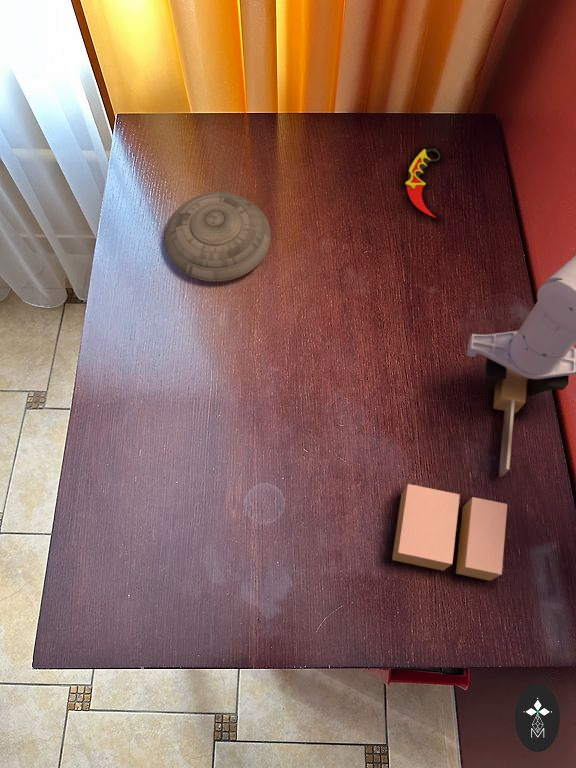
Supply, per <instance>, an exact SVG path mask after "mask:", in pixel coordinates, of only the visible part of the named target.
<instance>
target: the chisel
mask: <svg viewBox="0 0 576 768" xmlns="http://www.w3.org/2000/svg"><path fill="white" fill-rule="evenodd" d="M527 381H528V378H527V377H524V376H522V375H520V374H518V373H516V372H514V371H512V370H510V369H508V368H507V371H506V379H503V380H501V381H500V382H498V384H497V385H496V387H495V388H494V396H493V406H492V408H493V409H494V410H499V411H504V412H503V422H502V433H501V447H500V456H499V457H500V458H499V469H498V477H499V478H502V477H503V476H504V475H506V473H507V472H508V471H510V467H511V456H512V455H511V454H512V443H513V432H514V431H513V429H514V417H515V414H517V413H518V412H519V411H520V410H521V409H522V407H524V404H526V400H527V396H526V391H527Z"/></svg>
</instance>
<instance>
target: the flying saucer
mask: <svg viewBox="0 0 576 768" xmlns="http://www.w3.org/2000/svg"><path fill="white" fill-rule="evenodd" d="M270 225H271V224H270V223H269V220H268V218H267V216H266V215H265V213H264V212H263V211H262V210H261V209H260V207H259V206H257V205H256V204H255V203H254V202H253V201H251V200H249V199H247V198H245V197H243V196H241V195H238V194H234V193H230V192H224V191H223V192H222V191H215V192H208V193H203V194H200V195H196V196H195V197H192V198H190V199H188V200H186V201H185V202H183V203H182V204H181V205H180V206H178V208H177V209H176V210H174V212H173V213H172V214H171V216H170V217H169V219H168V221H167V223H166V226H165V228H164V234H163V243H164V249H165V252H166V255H167V256H168V258H169V260H170V261H171V263H172V264H173V265H174V266H175V267H176V268H177V269H178V270H180V271H181V272H182V273H184V274H186V275H187V276H190V277H192V278H194V279H197V280H201V281H207V282H225V281H230V280H235V279H238V278H240V277H242V276H244V275H246V274H248V273H250V272H251V271H253V270H254V269H255V268H256V267H257V266H258V265H260V264H261V262H262V261H263V260H264V259H265V257H266V255H267V254H268V251H269V249H270V247H271V242H272V231H271V226H270Z"/></svg>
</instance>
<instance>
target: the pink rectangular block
mask: <svg viewBox="0 0 576 768" xmlns="http://www.w3.org/2000/svg"><path fill="white" fill-rule="evenodd" d="M460 497H461V495H460V494H459V493H456V492H449V491H446V490H445V491H444V490H439V489H435V488H431V487H425V486H421V485H416V484H411V483H407V485H406V486H405V488H404V490H402V492H401V496H400V502H399V509H398V516H397V523H396V530H395V537H394V542H393V543H394V544H393V551H392V559H391V560H392V561H396V562H400V563H405V564H410V565H415V566H419V567H424V568H427V569H433V570H438V571H441V572H442V571H445V570H446V569H448V568H449V567H450V566H452V565H453V561H454V555H455V554H454V553H455V543H456V533H457V525H458V517H459V516H458V515H459V508H460V507H459V506H460Z"/></svg>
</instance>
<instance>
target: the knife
mask: <svg viewBox="0 0 576 768" xmlns="http://www.w3.org/2000/svg"><path fill="white" fill-rule="evenodd" d="M429 152H433V153H434V154H436V155H437V158H434V159H433V158H431V157H429V156H428V153H429ZM440 158H441V153H440V151H438V150H437V147H435V148H434V147H433V148H426V149H425V148H424V149H422V150H421V152H419V153H418V155H417V156H415V158H414V160H413V161H412V163H411V165H410V166H409V169H408V171H407V174H408V177H407V180H406V181H405V183H404V187H406V192H407V195H408V197H409V200H410V202H411V203H412V204H413V205H414V206H415V208H417V209H418V210H419V211H421V212H422V213H423V214H426V215H427V216H430V217H433V218H436V219H437V217H436V216H435V215H434V214H433V213H432V212H431V211H430V210H429V209H428V207H427V206H426V205H425V203H424V200H423V188H425V187H426V181H425V182H424V181H423V180H422V179H420V176H421V175H423V174H424V171H423V170H425V169H426V168H428V164H429V163H436V162H438V161H439V160H441V159H440Z"/></svg>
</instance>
